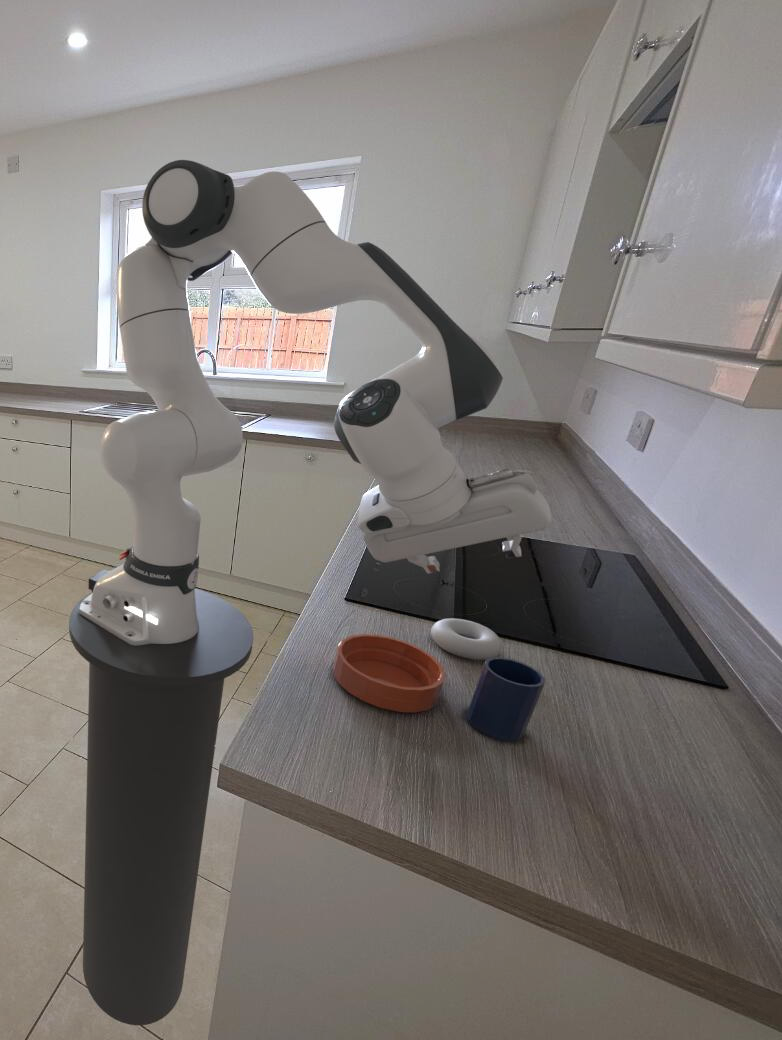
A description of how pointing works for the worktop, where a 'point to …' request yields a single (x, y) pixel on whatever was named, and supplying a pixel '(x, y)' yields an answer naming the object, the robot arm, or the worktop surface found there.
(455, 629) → the donut
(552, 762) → the worktop surface
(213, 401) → the robot arm
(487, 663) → the cup
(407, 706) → the bowl
